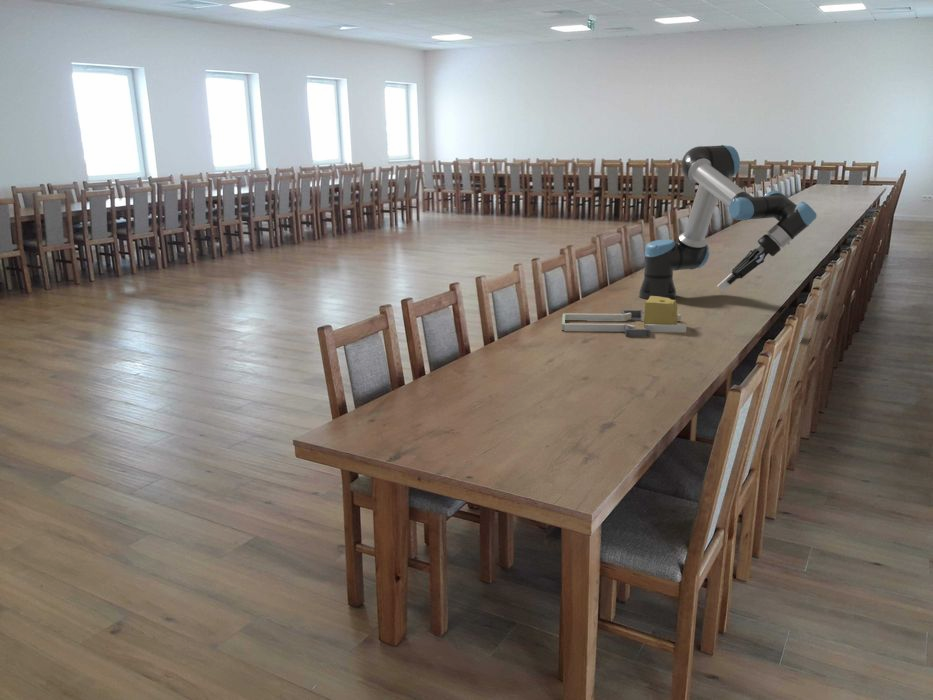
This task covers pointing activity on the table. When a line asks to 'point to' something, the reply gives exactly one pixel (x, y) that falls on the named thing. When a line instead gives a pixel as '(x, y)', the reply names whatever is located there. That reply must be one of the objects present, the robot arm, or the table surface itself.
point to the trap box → (624, 316)
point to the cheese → (660, 311)
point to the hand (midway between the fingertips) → (720, 288)
